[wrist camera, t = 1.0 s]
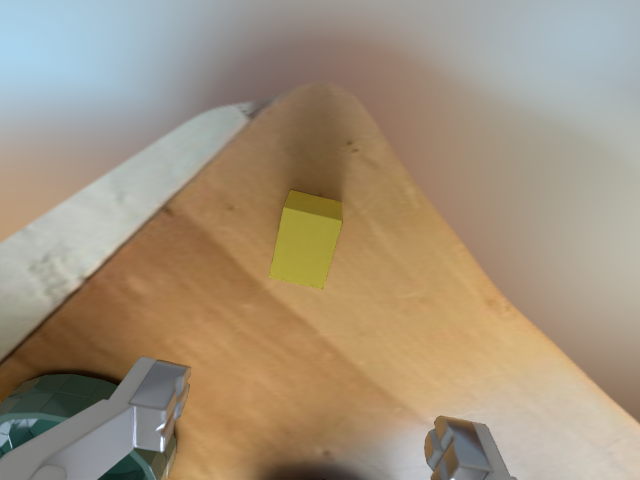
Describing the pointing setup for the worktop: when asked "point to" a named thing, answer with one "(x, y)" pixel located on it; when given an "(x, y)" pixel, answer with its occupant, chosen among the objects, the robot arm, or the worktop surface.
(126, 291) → the worktop surface
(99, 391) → the bowl
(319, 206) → the yellow block
